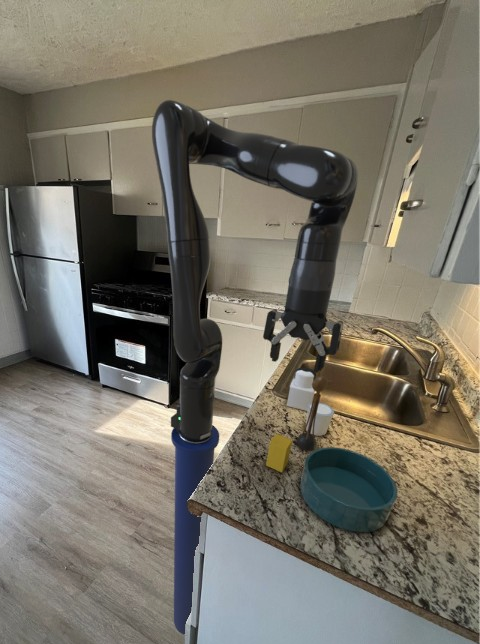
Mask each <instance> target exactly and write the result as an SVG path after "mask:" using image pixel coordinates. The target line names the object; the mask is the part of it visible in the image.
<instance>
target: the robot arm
mask: <svg viewBox="0 0 480 644" xmlns="http://www.w3.org/2000/svg"><path fill="white" fill-rule="evenodd" d="M151 124H152V125H151V141H152V148H153V154H154V158H155V159H154V160H155V163H156V164H155V165H156V168H157V174H158V179H159V184H160V190H161V196H162V197H161V199H162V206H163V214H164V220H165V231H166V243H167V253H168V262H169V268H170V278H171V279H170V280H171V281H170V282H171V292H172V293H171V294H172V311H173V312H172V313H173V314H172V317H173V318H172V321H173V322H172V324H173V325H172V327H173V329H172V330H173V331H172V332H173V334H172V335H173V336H172V337H173V344H174V348H175V351H176V354H177V355H178V357H179V358H180V359H181V360H182V361H183V362H185V364H184V366H182V368H181V369H180V372H179V403H177V404H176V413H175V414H173V415H172V416H171V417H170V427H171V428H172V429H173V428H175V429H176V433H177V434H178V435H179V436H180V438H181V439H182V440H183V441H184V442H186V443H189V444H203V443H206V442H208V441H209V440H210V439H211V437H212V425H213V422H214V421H213V420H214V407H215V406H214V405H215V392H216V380H217V379H216V378H217V376H218V374H219V372H220V367H221V360H222V352H223V334H222V330H221V328H220V325H218V323H217V322H216V321H215V320H213V319H210V318H201V310H200V309H201V308H200V307H201V305H200V304H201V299H202V294H203V290H204V288H205V285H206V281H207V278H208V275H209V271H210V267H211V245H210V233H209V228H208V225H207V221H206V218H205V216H204V214H203V212H202V209H201V207H200V204H199V202H198V200H197V198H196V195H195V192H194V189H193V184H192V179H191V169H190V165H201V166H202V165H203V166H204V165H205V166H214V167H218V168H221V169H225V170H228V171H230V172H232V173H233V174H236V175H238V176H240V177H242V178H244V179H247V180H249V181H252V182H254V183H257V184H260V185H262V186H266V187H268V188H271V189H275V190H279V191H284V192H286V193H289V194H291V195H293V196H295V197H298V198H300V199H302V200H304V201H308V202H310V203H311V204H310V208H309V211H308V215H307V219H306V221H305V222H304V223H303V224H302V225H301V226H300V228H299V231H298V234H297V240H296V245H295V246H296V247H295V253H294V258H293V262H292V266H291V269H290V274H289V277H288V287H287V294H286V299H285V306H284V310H283V312H282V311H278V310H277V309H276V308H273V309H271V310H269V311H268V312H267V315H266V319H265V324H264V330H263V335H262V338H263V340H265V341H269V342H270V344H271V345H270V352H269V357H270V359H271V361H272V362H275V363H276V362H277V361H278V360H279V358H280V352H281V346H282V342H281V340H282V339H284V338H285V337H286V336H287V335H289V336H290V338H294V339H297V338H299V339H301V340H303V341H308V340H310V342H311V344H312V346H313V347H314V348H315V349H316V351H317V354H316V357H315V362H314V367H313V370H314V372H316V374H318V373H319V372H320V371H322V369H324V367H325V364H326V359H327V356H335V355H336V354H337V353H338V351H339V350H340V344H341V339H342V334H343V327H344V322H343V321H342V320H337V321H331V320H328V319H327V314H328V313H327V312H328V309H329V305H330V299H331V295H332V290H333V286H334V281H335V276H336V268H337V259H338V256H339V251H340V247H341V241H342V235H343V230H344V227H345V225H346V223H347V219H348V217H349V214H350V212H351V208H352V206H353V203H354V199H355V196H356V193H357V188H358V182H359V171H358V168H357V165H356V163H355V161H353V159H350V158H349V157H348V156H346V155H345V154H343V153H341V152H339V151H337V150H333V149H330V148H326V147H325V148H324V147H319V146H312V145H305V144H298V143H296V142H294V141H292V140H288V139H284V138H281V137H276V136H272V135H269V134H264V133H259V132H249V131H248V132H247V131H239V130H233V129H230V128H228V127H225V126H222V125H220V124H219V123H217V122H215V121H214V120H211V119H210V118H208V117H206V116H205V115H204V114H203V113H202V112H200V111H199V110H198V109H196V108H194V107H191V106H188V105H187V104H184V103H182V102H179V101H177V100H173V99H166V100H164V101H162V102H160V104H159V105H158V106H157V108H156V109H155V112H154V113H153V118H152V123H151ZM279 320H281V322H282V324H283V326H284V328H282V330H281V331H279V332H278V333H277V334H275V333H274V332H275V328H276V323H277V322H278V321H279ZM325 328H327V329H328V333H329V334H330V335H331V338H330V342H329V343H330V344H329V346H328V345H327V343H326V342H325V338H324V335H323V333H322V331H323V330H324V329H325Z"/></svg>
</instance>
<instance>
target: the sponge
mask: <svg viewBox="0 0 480 644" xmlns="http://www.w3.org/2000/svg"><path fill="white" fill-rule="evenodd" d="M292 445H293V439H291V438H289V437H287V436H284V435H282V434H278V433H275V435H273V437H272V439H271V440H270V441H269V444H268V451H267V458H266V462H265V466H267V467H268V468H271V469H273V470H275V471H277V472H280V473H283V472H284V470H285V469H286V467H287V465H288V464H289V460H290V459H289V458H290V455H291V449H292Z"/></svg>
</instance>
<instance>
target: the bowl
mask: <svg viewBox="0 0 480 644" xmlns="http://www.w3.org/2000/svg"><path fill="white" fill-rule="evenodd" d="M299 483H300V484H299V489H300V494H301V496H302V498H303V500H304V503H306V505H307V506H308V507H309V509H311V510H312V511H313V512H314V514H316V515H317V517H319V518H321V519H322V520H324V521H325V522H327V523H329V524H331V525H333V526H334V527H337V528H338V529H339V528H340V529H341V530H345V531H350V532H355V533H370V532H374V531H378V530H379V529H381V528H382V527H383V526H384V525H385V524H386V522H387V521H388V519H389V517H390V515H391V512H392V510H393V508H394V505H395V503H396V501H397V498H398V487H397V485H396V481H394V479H393V477H392V476H391V474H390V473H389V472H388V471H387V470H386V469H385V468H384V467H383V466H381V464H379V463H378V462H376V461H374V460H373V459H372V458H369V457H368V456H366V455H364V454H362V453H359V452H356V451H354V450H350V449H347V448H342V447H335V446H334V447H332V446H329V447H327V446H326V447H320V448H318V449H314V450H312V451H310V453H309V454H308V455H307V456H306V458H305V460H304V464H303V468H302V472H301V477H300V482H299Z"/></svg>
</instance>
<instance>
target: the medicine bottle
mask: <svg viewBox="0 0 480 644" xmlns="http://www.w3.org/2000/svg"><path fill="white" fill-rule="evenodd" d="M315 378H317V373H316V372H314V369H312V368H310V367H298V368H296V369H295V372H294V377H293V378H292V380H291V383H290V385H289V389H288V393H287V400H286V407H289V408H292V409H298V410H301V411H305V412H307V409H308V404H310V403H312V401H313V397H314V394H315V393H316V391H315V390H314V389H313V388H312V382H313V381H314V379H315Z"/></svg>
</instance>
